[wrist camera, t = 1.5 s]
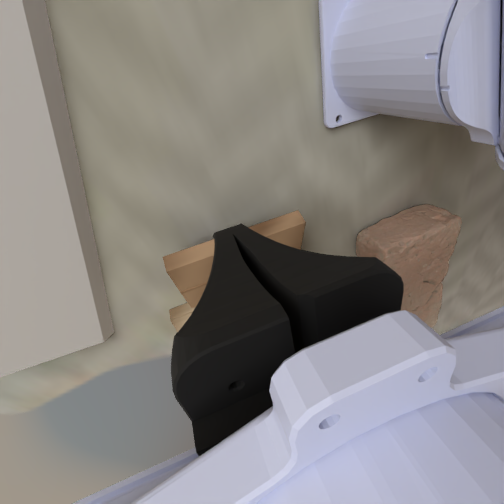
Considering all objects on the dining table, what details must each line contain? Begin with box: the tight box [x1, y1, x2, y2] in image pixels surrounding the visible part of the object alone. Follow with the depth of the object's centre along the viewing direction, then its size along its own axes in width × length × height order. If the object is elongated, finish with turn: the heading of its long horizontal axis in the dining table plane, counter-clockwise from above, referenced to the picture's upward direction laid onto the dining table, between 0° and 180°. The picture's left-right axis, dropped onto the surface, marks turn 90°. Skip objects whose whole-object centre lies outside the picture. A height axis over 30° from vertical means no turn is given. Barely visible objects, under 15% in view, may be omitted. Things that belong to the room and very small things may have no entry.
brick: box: [356, 204, 462, 327], centre depth 31 cm, size 16×8×5 cm, turn 17°
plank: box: [163, 210, 306, 308], centre depth 22 cm, size 10×7×1 cm
